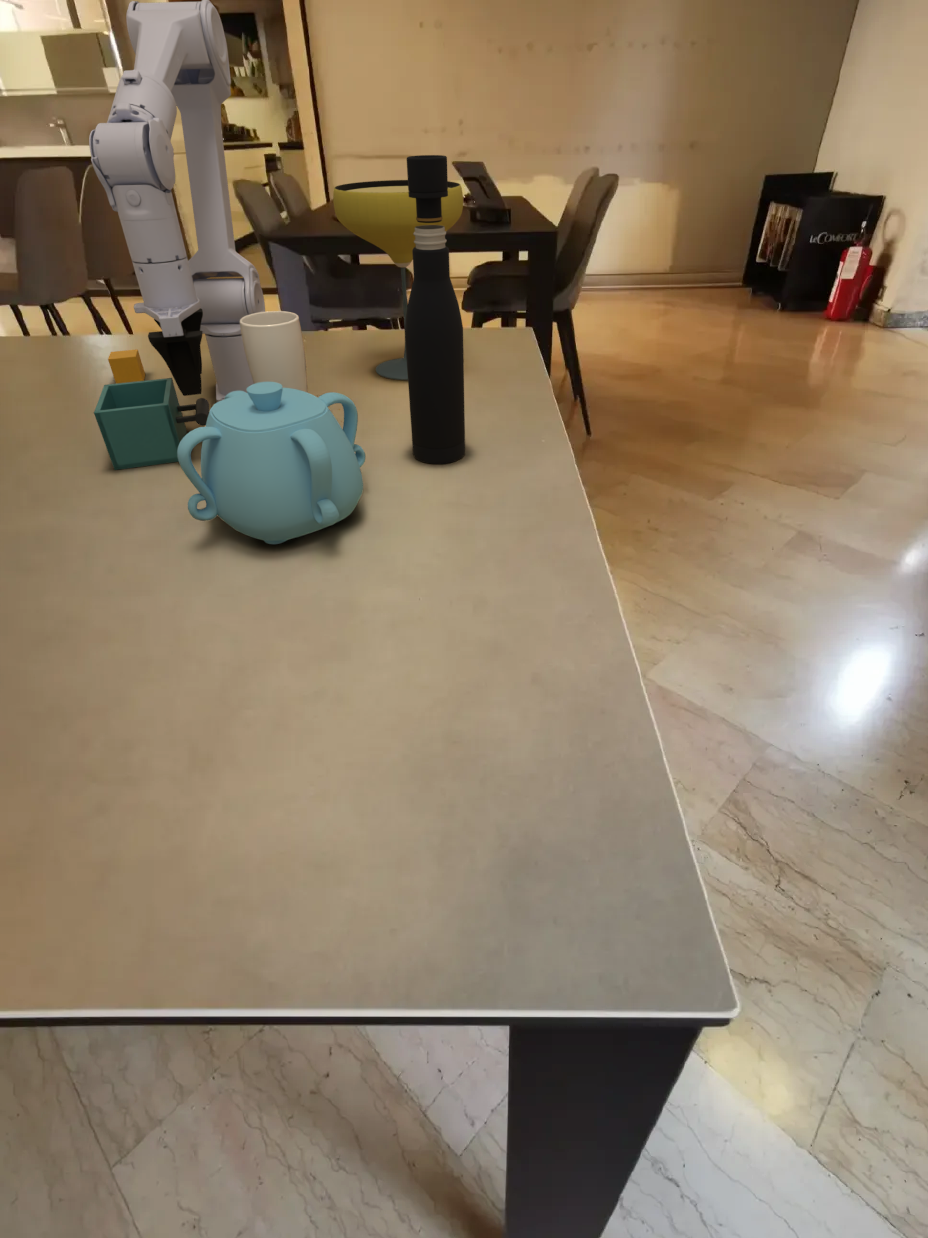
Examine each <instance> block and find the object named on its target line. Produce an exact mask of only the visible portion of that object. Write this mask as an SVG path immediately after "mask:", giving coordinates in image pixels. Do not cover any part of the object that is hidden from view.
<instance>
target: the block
mask: <svg viewBox="0 0 928 1238" xmlns="http://www.w3.org/2000/svg"><path fill="white" fill-rule="evenodd" d="M107 361H108V364H109V368H110V370H111V372H112V376H113V379H114V382H115V384H117V383H127V382H137V381H145V379H146V371H145V369H144V366H143V362H142V359H141V355H140V353H139V350H138V349H137V348H135V349H127V350H126V349H125V350H116V351H110V353H109V355H108V357H107Z"/></svg>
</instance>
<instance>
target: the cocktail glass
mask: <svg viewBox="0 0 928 1238" xmlns="http://www.w3.org/2000/svg"><path fill="white" fill-rule="evenodd" d="M408 192H409V191H408V179H389V180H388V179H387V180H385V179H384V180H372V181H371V180H370V181H369V180H368V181H359V182H351V183H343V184H339V185H336V186H334V188H333V192H332V196H333V197H332V198H333V199H332V201H333V209H334V213H335V216H336V219H337V220H338V221H339V223H340V224H341V225H342V226H343V227H345V229H346V230H348V231H349V232H351V233H352V234H354V235H356V236H357V237H359V238H360V239H363V240H365V242H368V243H370V244H372V245H374V246H376V247H377V248H379V249H380V250H382V251H384V252H385V254H387V255H388V257H389V258H390V259H391V261H392V262H393V263H394V265H395V266H396V267H397V268H400V275H401V276H400V277H401V292H402V307H403V327H404V328H403V329H404V330H405V322H406V313H407V305H408V297H407V282H406V281H407V280H406V279H407V278H406V268H407V267H409V266H410V264H411V263H413V254H412V250H413V248H414V247H416V244H415V243H414V240H415V235H414V234H413V233H414V232H415V227H417V226H422V225H441V226H444V227H445V231H446V232H448V231H449V230H450V229H452V227H453V226H454V225H455V224H456V223H457V222H458V221H459V220H460V218H461V216H462V213H463V209H464V193H463V188H462V185H461V183H459V182H455V181H451V180H448V196H447V197H442V198H441V209H442V217H443V219H442V221H441V222H436V223H420V222H417V220H416V217H417V212H416V198H410V197H409V193H408ZM375 373H376V374H377V375H378V376H380V377H382V378H384V379H388V380H393V381H394V380H395V381H408V372H407V357H406V343H405V342H404V353H403V357H399V358H394V359H389V360H386V361H383V362H380V363H379V364H378V365H377V366H376V367H375Z"/></svg>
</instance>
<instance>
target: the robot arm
mask: <svg viewBox="0 0 928 1238" xmlns="http://www.w3.org/2000/svg"><path fill="white" fill-rule="evenodd" d="M125 15H126V17H125V19H126V28H127V32H128V33H127V35H128V37H129V38H128V39H129V41H130V44H131V47H132V50H133V53H134V54H135V58H134V66H133V69H130V70H128V69H127V70H123V72H122V75H121V77H120V78H119V80H118V84H117V87H116V90H115V94H114V97H113V101H112V104H111V108H110V112H109V115H108V117H107V121H106V122H99V123H97V125H95V129H92V130H91V131H90V133H89V138H88V144H89V145H88V146H89V147H88V148H89V153H90V157H91V158H90V161H91V164H92V167H93V170H94V173H95V175H96V176H97V178H98V181H99V182H100V184H101V186H102V187H103V189H104V191H105V193H106V196H107V200H108V202H109V203H108V204H109V206H110V207H111V210H112V211H114V212H115V213H117V215H118V218H119V221H120V224H121V228H122V232H123V235H124V239H125V243H126V245H127V249H128V254H129V255H130V259H131V262H132V266H133V270H134V273H135V277H136V280H137V284H138V287H139V290H140V291H139V292H140V294H141V297H142V301H143V302H136V303H134V304H133V310H134V313H135V314H146V315H147V316H149V317H150V318H152V319H153V321H154V322H155V323H156V325H158V327H159V328H160V330H159V331H149V332H148V334H147V338H148V341H149V343H150V344H151V346H152V347H153V348H154V349H155V350H156V352H158V354H159V355H160V357H161V358H162V359H163V361H164V362H165V364H166V365H167V367H168V369H169V371H170V373H171V376H172V378H173V379H174V381H175V383H176V385H177V387H178V389H179V391H180V393H181V394H182V396H184V397H187V396H195V395H201V394H202V386H203V385H202V374H203V360H202V359H203V358H202V350H201V343H202V339H203V335H205V340H206V344H207V348H208V352H209V357H210V359H211V360H210V361H211V365H212V368H213V373H214V378H215V381H216V383H215V399H216V403H217V402H219V401H222V400H224V398H225V396H226V395H227V394H229V393H230V392H233V391H244V392H246V393H247V390H246V389H247V388H248V387H249V386H251V385H253V384H254V382H253V379H252V376H251V372H250V369H249V365H248V362H247V358H246V354H245V350H244V345H243V340H242V334H241V328H240V319H241V318H243V317H244V316H247V315H250V314H254V313H259V312H266V303H265V296H264V292H263V289H262V286H261V280H260V274H259V271H258V270H257V268H256V266H255V265H254V264H253V263H252V262H251V261H249V260H248V259H246V258H245V257H243V256H242V255H241V254H239V253H238V252H237V251H236V243H235V242H236V241H235V235H234V226H233V217H232V210H231V209H232V208H231V199H230V191H229V182H228V172H227V165H226V155H225V148H224V147H225V146H224V139H223V130H222V129H223V128H222V127H223V126H222V104H223V103H224V102H226V101H227V99H229V98H230V97H231V96H232V90H231V84H232V78H231V69H230V62H229V61H230V60H229V50H228V43H227V39H226V35H225V31H224V30H225V29H224V26H223V23H222V19H221V17H220V14H219V12H218V9H217V8H216V7H215V6H214V5H213V3H212V1H210V0H201V1H162V2H161V1H160V2H140V1H138V0H131V1H130V2H129V3H128V7H127V10H126V14H125ZM178 110H179V113H180V120H181V127H182V135H183V143H184V150H185V151H184V152H185V158H186V165H187V174H188V180H189V189H190V190H189V191H190V195H191V196H190V197H191V203H192V212H193V213H192V214H193V219H194V227H195V236H196V244H197V251H196V252H195V253H194V254H193V255H192V256H191V257H190V258H189V259H188V255H187V250H186V247H185V243H184V239H183V238H184V237H183V233H182V229H181V227H180V222H179V217H178V214H177V209H176V205H175V201H174V197H173V193H172V189H173V188H174V186H175V184H176V169H175V168H176V167H175V159H174V157H175V153H174V151H175V150H174V149H175V148H174V146H173V144H172V142H171V140H172V136H173V132H174V127H175V123H176V119H177V114H178Z"/></svg>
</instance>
